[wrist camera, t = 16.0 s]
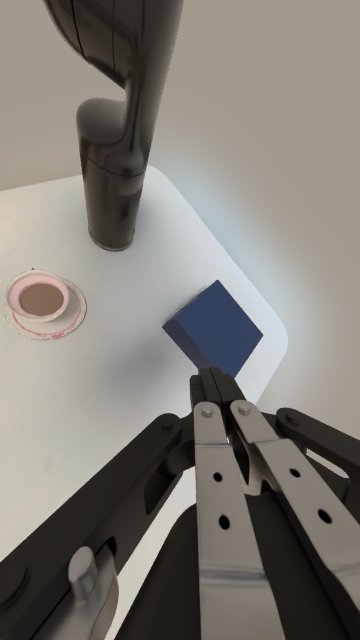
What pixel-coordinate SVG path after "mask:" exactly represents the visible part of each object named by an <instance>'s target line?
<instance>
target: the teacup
mask: <svg viewBox="0 0 360 640" xmlns="http://www.w3.org/2000/svg"><path fill="white" fill-rule="evenodd" d="M85 312H86V303H85V299H84V297H83V295H82V293H81V291H80V290H79V289H78V288H77V287H76V286H75V285H73V284H72V283H70V282H68V281H66V280H64V279H60V278H59V277H57V276H56V275H54V274H52V273H49V272H46V271H41V270H34V269H33V268H32V270H31V271H26V272H23V273H21V274H19V275H17V276H16V277H15V278H14V279H13V280H12V281H11V282H10V283H9V285H8V287H7V290H6V303H5V317H6V319H7V320H8V322H9V324H10V326H11V327H12V328H13V329H15V330H16V331H17V332H18V333H19V334H22V335H24V336H26V337H29V338H31V339H39V340H50V339H58V338H60V337H63V336H65V335H67V334H70V333H71V332H72V331H73V330H75V329H76V328H77V327H78V326H79V325H80V323H81V322H82V320H83V319H84V316H85Z"/></svg>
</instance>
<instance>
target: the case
mask: <svg viewBox="0 0 360 640" xmlns="http://www.w3.org/2000/svg"><path fill="white" fill-rule="evenodd" d="M211 285H212V284H211ZM211 285H210V286H211ZM206 289H207V288H206ZM206 289H205V290H206ZM205 290H204V291H205ZM204 291H203V292H204ZM203 292H201V293H200V294H199V295H201V294H202V293H203ZM199 295H198V296H199ZM198 296H197V297H198ZM197 297H195V298H194V299H193V300H192V301H191V302H190V303H192V302H193V301H194V300H195V299H196V298H197ZM190 303H189V304H190ZM189 304H187V305H186V306H185V307H184V308H183V309H182V310H181V311H183V310H184V309H185V308H186V307H187V306H188V305H189ZM181 311H180V312H181ZM180 312H178V313H177V314H176V315H175V316H174V317H173V318H172V319H171V320H169V321H168V322H167V323H166V324H165V325H164V326H163V327H162V328H163V329H164V330H165V331H166V332H167V333H168V335H169V336H170V337H171V338H172V339H173V340H174V342H175V343H176V344H177V345H178V346H179V347H180V348H181V350H182V351H183V352H184V353H185V354H186V355H187V356H188V358H189V359H190V360H191V361H192V362H193V363H194V364H195V366H196V367H197V368H198V369H199V368H206V367H214V366H213V364H212V363H211V362H210V361H209V360H208V359H207V357H206V356H205V355H204V354H203V353H202V352H201V350H200V349H199V348H198V347H197V346H196V345H195V344H194V342H193V341H192V340H191V339H190V338H189V337H188V335H187V334H186V333H185V332H184V331H183V330H182V328H181V327H180V326H179V325H178V324H177V323H176V321H175V320H174V318H175V317H176V316H177V315H178V314H179V313H180Z"/></svg>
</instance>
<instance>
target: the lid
mask: <svg viewBox="0 0 360 640" xmlns="http://www.w3.org/2000/svg"><path fill="white" fill-rule="evenodd" d="M174 320H175V321H176V323H177V324H178V325H179V326H180V327H181V328H182V330H183V331H184V332H185V333H186V334H187V335H188V337H189V338H190V339H191V340H192V341H193V342H194V344H195V345H196V346H197V347H198V348H199V349H200V350H201V352H202V353H203V354H204V355H205V356H206V357H207V359H208V360H209V361H210V362H211V363H212V364H213V366H214V367H220V368H221V370H222V372H223V374H229V375H231V376H232V377H233V378H235V377H236V375H237V374H238V372H239V371H240V369H241V368H242V366H243V365H244V363H245V362H246V360H247V359H248V357H249V356H250V354H251V353H252V351H253V350H254V349H255V347H256V346H257V344H258V343H259V341H260V340H261V338H262V337H263V334H262V333H261V332H260V330H259V329H258V328H257V327H256V325H255V324H254V323H253V322H252V321H251V319H250V318H249V317H248V316H247V314H246V313H245V312H244V311H243V310H242V308H241V307H240V306H239V305H238V303H237V302H236V301H235V300H234V299H233V297H232V296H231V295H230V294H229V293H228V291H227V290H226V289H225V288H224V286H223V285H222V284H221V283H220V282H219V280H216V281H215V282H214V283H213V284H212V285H211V286H209V287H208V288H207V289H206V290H205V291H204V292H203V293H202V294H201V295H199V296H198V297H197V298H196V299H195V300H194V301H193V302H192V303H190V304H189V305H188V306H187V307H186V308H185V309H184V310H183V311H181V312H180V313H179V314H178V315H177V316H176V317H175V318H174Z"/></svg>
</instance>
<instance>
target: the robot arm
mask: <svg viewBox="0 0 360 640" xmlns="http://www.w3.org/2000/svg"><path fill="white" fill-rule="evenodd" d="M43 2H44V4H45V7H46V9H47V11H48V14H49V16H50V18H51V20H52V22H53V24H54V26H55V27H56V29H57V31H58V33H59V34H60V36H61V37H62V38H63V39H64V41H65V42H66V43H67V44H68V45H69V46H70V48H71V49H72V50H73V51H75V52H76V53H77V54H78V55H79V56H80V57H81V58H82V59H84V60H85V61H86V62H88V63H89V64H90V65H92V66H93V67H94V68H96V69H97V70H99V71H100V72H101V73H103V74H104V75H105V76H107V77H108V78H109V79H111V80H112V81H113V82H115V83H116V84H117V85H119V86H120V87H122V88H123V89H124V90H125V92H126V101H116V100H110V99H104V98H92V99H88V100H86V101H84V102H83V103H81V104H80V106H79V107H78V110H77V114H76V125H77V133H78V142H79V150H80V158H81V166H82V174H83V183H84V191H85V199H86V207H87V216H88V224H89V225H88V229H89V234H90V237H91V238H92V240H93V241H94V242H95V243H96V244H97V245H98V246H100V247H102V248H104V249H106V250H110V251H121V250H124V249H126V248H128V247H129V246H130V244H131V243H132V239H133V232H134V231H135V222H136V217H137V212H138V207H139V202H140V197H141V192H142V187H143V182H144V177H145V172H146V167H147V162H148V157H149V152H150V148H151V143H152V139H153V134H154V129H155V124H156V120H157V114H158V111H159V106H160V102H161V98H162V94H163V90H164V86H165V82H166V78H167V74H168V70H169V66H170V62H171V58H172V55H173V51H174V46H175V42H176V38H177V34H178V29H179V25H180V20H181V14H182V9H183V3H184V0H43ZM190 400H191V409H192V412H191V413H190V414H189V415H188V416H186V417H183V418H181V419H180V418H179V417H178V416H177V415H175V414H171V413H166V414H162V415H160V416H158V417H157V418H156V419H155V420H154V421H153V422H152V423H150V424H149V425H148V426H147V427H146V428H145V429H144V430H143V431H142V432H141V433H140V434H139V435H138V436H136V437H135V438H134V439H133V440H132V441H131V442H130V443H129V444H128V445H127V446H126V447H125V448H123V449H122V450H121V451H120V452H119V453H118V454H117V455H116V456H115V457H114V458H113V459H112V460H110V461H109V462H108V463H107V464H106V465H105V466H104V467H103V468H102V469H101V470H100V471H99V472H97V473H96V474H95V475H94V476H93V477H92V478H91V479H90V480H89V481H88V482H87V483H86V484H85V485H83V486H82V487H81V488H80V489H79V490H78V491H77V492H76V493H75V494H74V495H73V496H72V497H70V498H69V499H68V500H67V501H66V502H65V503H64V504H63V505H62V506H61V507H60V508H59V509H57V510H56V511H55V512H54V513H53V514H52V515H51V516H50V517H49V518H48V519H47V520H46V521H44V522H43V523H42V524H41V525H40V526H39V527H38V528H37V529H36V530H35V531H34V532H33V533H32V534H30V535H29V536H28V537H27V538H26V539H25V540H24V541H23V542H22V543H21V544H20V545H19V546H17V547H16V548H15V549H14V550H13V551H12V552H11V553H10V554H9V555H8V556H7V557H6V558H5V559H4V560H3V561H1V562H0V640H104V639H105V637H106V635H107V632H108V630H109V628H110V626H111V624H112V621H113V618H114V615H115V612H116V608H117V603H118V595H119V585H118V579H117V576H118V575H119V573H120V571H121V570H122V568H123V567H124V565H125V564H126V562H127V561H128V559H129V557H130V556H131V554H132V553H133V551H134V550H135V548H136V547H137V545H138V544H139V542H140V540H141V539H142V537H143V536H144V534H145V533H146V531H147V530H148V528H149V527H150V525H151V523H152V522H153V520H154V519H155V517H156V516H157V514H158V513H159V511H160V509H161V508H162V506H163V505H164V503H165V502H166V500H167V499H168V497H169V496H170V494H171V492H172V491H173V489H174V488H175V486H176V485H177V483H178V482H179V480H180V478H181V477H182V475H183V471H185V470H187V469H189V468H191V467H193V466H195V475H196V503H195V504H193V505H192V506H190V507H189V508H188V509H186V510H185V511H184V512H183V513H182V514H181V515H180V517H179V518H178V519H177V521H176V522H175V524H174V525H173V527H172V528H171V530H170V532H169V534H168V536H167V538H166V540H165V542H164V544H163V546H162V548H161V549H160V551H159V553H158V555H157V557H156V559H155V561H154V563H153V565H152V567H151V569H150V571H149V573H148V575H147V577H146V579H145V581H144V582H143V584H142V586H141V588H140V590H139V592H138V594H137V596H136V598H135V600H134V602H133V604H132V606H131V608H130V610H129V611H128V613H127V615H126V617H125V619H124V621H123V623H122V625H121V627H120V629H119V631H118V633H117V635H116V637H115V639H114V640H360V440H358V439H355V438H353V437H351V436H349V435H347V434H345V433H343V432H341V431H339V430H337V429H335V428H332V427H330V426H328V425H326V424H324V423H322V422H320V421H318V420H316V419H314V418H311V417H309V416H308V415H306V414H303V413H301V412H299V411H297V410H295V409H291V408H280V409H278V410H277V413H276V415H272V414H268V413H263V412H260V411H259V410H258V408H257V407H256V406H255V405H254V404H252V403H251V402H249V401H247V400H246V398H245V397H244V395H243V393H242V391H241V390H240V388H239V387H238V385H237V383H236V381H235V379H234V378H233V377H232V376H231V375H229V374H223V372H222V370H221V368H220V367H206V368H199V369H198V375H192V376H191V378H190ZM227 437H228V439H229V444H228V441H227ZM307 448H308V449H310V450H311V451H313V452H315V453H316V454H318V455H320V456H321V457H323V458H325V459H326V460H328V461H330V462H331V463H333V464H335V465H336V466H338V467H339V468H341V469H342V470H343V471H344V472H346V474H347V475H348V476H349V478H343V477H341V476H339V475H337V474H336V473H334V472H333V471H331V470H330V469H328V468H326V467H325V466H323V465H321V464H320V463H318V462H317V461H315V460H314V459H312V458H310V457H309V456H307V455H306V452H307ZM242 485H243V487H242ZM243 488H244V490H245V493H244V491H243Z"/></svg>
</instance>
